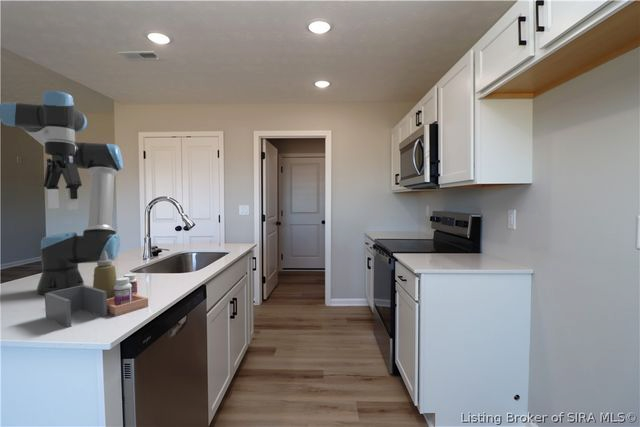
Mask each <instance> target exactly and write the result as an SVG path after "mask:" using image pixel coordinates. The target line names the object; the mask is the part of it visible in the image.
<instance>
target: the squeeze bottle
mask: <svg viewBox="0 0 640 427" xmlns="http://www.w3.org/2000/svg"><path fill="white" fill-rule="evenodd" d="M112 263H113V261H112V260H109V259H108V256H107V253H106V251H102V255H101V260H99V261H97V262H96V265H97V266H96V267H94V268H93V269H94V270H93V282H92V287H93V288H96V289H99V290H103V291H106V292H107V299H110V298H114V286H115V285H117V284H116V279H118V278H117V272H116V267H115V265H113V264H112Z"/></svg>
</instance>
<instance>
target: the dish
mask: <svg viewBox="0 0 640 427" xmlns="http://www.w3.org/2000/svg"><path fill="white" fill-rule="evenodd" d="M147 307H149V298H148V297H145V296H142V295H139V294H137V295H135V294H132V302H129V303H125V304H122V305H118V306H115V305H114V297H112V298H109V299H107V315H109V316H113V317H118V316H122V315H124V314H128V313H131V312H134V311H137V310H142V309H144V308H147Z"/></svg>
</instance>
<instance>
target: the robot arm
mask: <svg viewBox="0 0 640 427" xmlns="http://www.w3.org/2000/svg"><path fill="white" fill-rule="evenodd" d="M74 106H75V103H74V98H73V96H72V95H71V94H70V93H67V92H62V91H58V90H46V91H44V92H43V93H42V101H41V104H35V103H23V102H16V101H15V102H2V103H0V121H1V123H2V124H3V125H5V126H9V127H19V128H20V129H22V130H23V131H25V133H27V134H28V135H29V136H30V137H32V138H33V139H34V140H35V141H37V142H38V143H39V144H40V145H41V146H43V147H44V154H46V155H49V156H51V158H46V168H45V175H44V180H43V187H44V188H45V189H46V192H47V209H48V210H56V209H58V210H59V209H60V202H59V201H60V200H59V190H60V187H59V186H58V185H59V182H60V179H61V176H63V179H64V181H65V184H66V186H65V189H66V210H67V211H75V210H76V211H78V210H79V208H80V207H79V188H80V187H82V185H83V184H82V180H81V176H80V173H79V171H78V169H85V170H87V171H86V172H87V173H88V174H90V191H89V192H90V193H89V205H88V221H87V222H88V223H87V227H86V228H85V229H84V230H83V232H82V235H78V233H77V232H75V231H74V232H65V233H59V234H52V235H48V236H44V237H42V238H41V241H40V248H39V249H40V257H41V270H42V271H41V276H40V278H39V279H40V280H38V285H37V287H36V290H37V291H36V294H39V295H44V296H45V293H48V292H53V291H57V290H62V289H67V288H72V287H76V286H81V285H85V281H84V279H83V277H82V275H81V272H80V269H79V264H89V263H90V264H91V263H97V261H99V260H101V255H102V251H106V253H107V256H108V259H109V260H112V262H113V261H115V259H116V258H117V257H118V254H119V251H120V246H121V242H120V241H121V237H120V235H119V234H117V231H116V229H114V228H113V214H114V213H113V212H114V211H113V210H114V208H113V207H114V191H115V190H114V189H115V188H114V187H115V185H114V184H115V177H116V176H118V175H119V171H121V170H123V169H124V162H123V157H122V156H123V155H122V152H121V149H120V147H119V146H118V145H117V144H113V143H102V142H101V143H99V142H98V143H97V142H80V141H76V133H78V132H82V131H84V130H85V129H86V127H87V125H88V121H87V117H86V116H85V114H84V113H83V112H81V111H80V110H79V109H77V108H76V107H74Z"/></svg>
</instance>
